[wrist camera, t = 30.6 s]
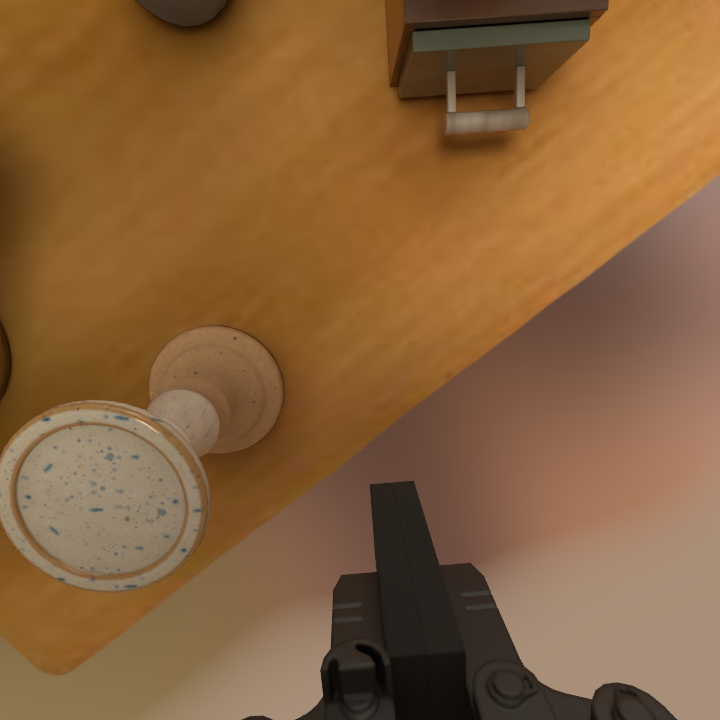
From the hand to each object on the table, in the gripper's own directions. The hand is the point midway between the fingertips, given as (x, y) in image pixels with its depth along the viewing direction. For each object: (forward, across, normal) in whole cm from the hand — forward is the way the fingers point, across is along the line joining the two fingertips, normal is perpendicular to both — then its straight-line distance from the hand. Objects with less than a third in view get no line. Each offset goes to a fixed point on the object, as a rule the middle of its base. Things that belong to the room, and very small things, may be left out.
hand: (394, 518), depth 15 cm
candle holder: (+27, -14, -2) cm, 30 cm away
